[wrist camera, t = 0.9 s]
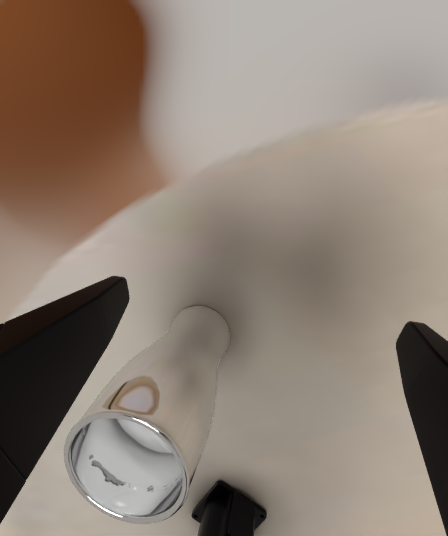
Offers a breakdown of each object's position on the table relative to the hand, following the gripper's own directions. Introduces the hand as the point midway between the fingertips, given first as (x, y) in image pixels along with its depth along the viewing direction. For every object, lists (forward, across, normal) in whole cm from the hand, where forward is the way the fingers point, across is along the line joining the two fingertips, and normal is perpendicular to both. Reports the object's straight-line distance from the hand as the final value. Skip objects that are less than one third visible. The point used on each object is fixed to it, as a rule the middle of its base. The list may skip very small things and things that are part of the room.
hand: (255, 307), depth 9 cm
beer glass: (+12, +5, +15) cm, 20 cm away
